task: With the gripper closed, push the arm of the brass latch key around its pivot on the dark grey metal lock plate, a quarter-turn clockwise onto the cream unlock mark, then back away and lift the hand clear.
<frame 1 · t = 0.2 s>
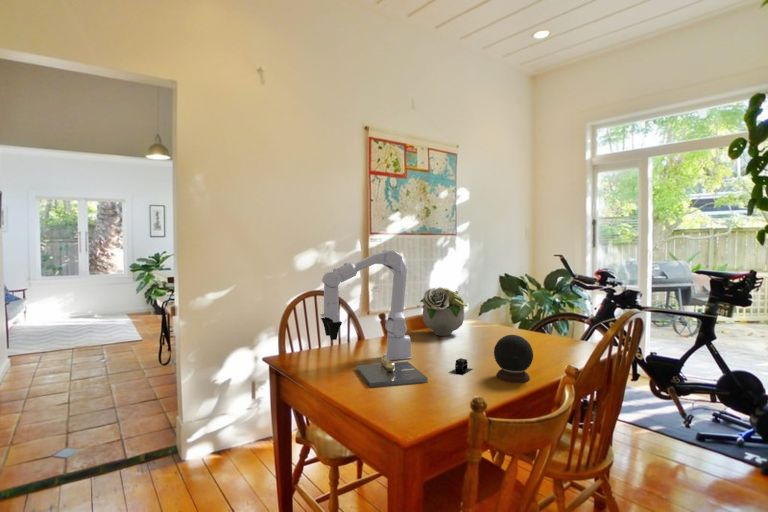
hand: (331, 337, 162), 10 cm above the table, tool pointing down, fingers open, 7 cm apart
black block on base: (461, 372, 154), on the table
latch key: (387, 363, 151), point 3 cm above the table, hinge at 0.0°
spherical smart speaker: (512, 378, 146), on the table
lock plate: (390, 375, 147), on the table
flower arrangement: (443, 334, 215), on the table
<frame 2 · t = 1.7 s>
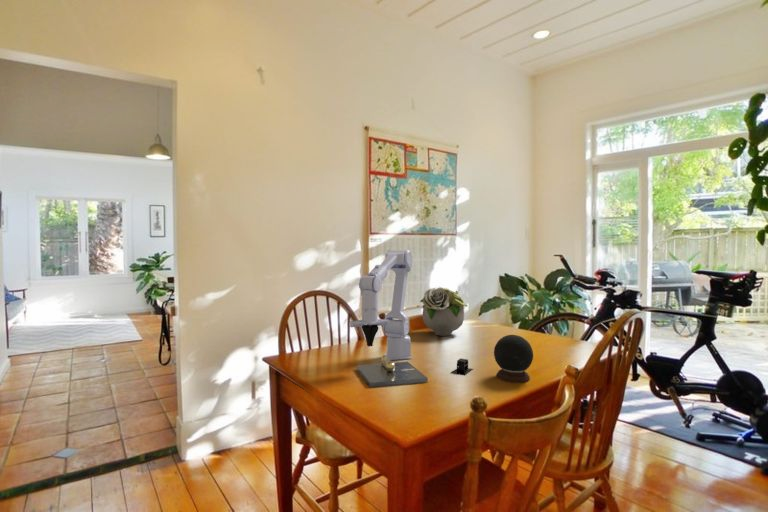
hand: (369, 345, 151), 9 cm above the table, tool pointing down, fingers closed
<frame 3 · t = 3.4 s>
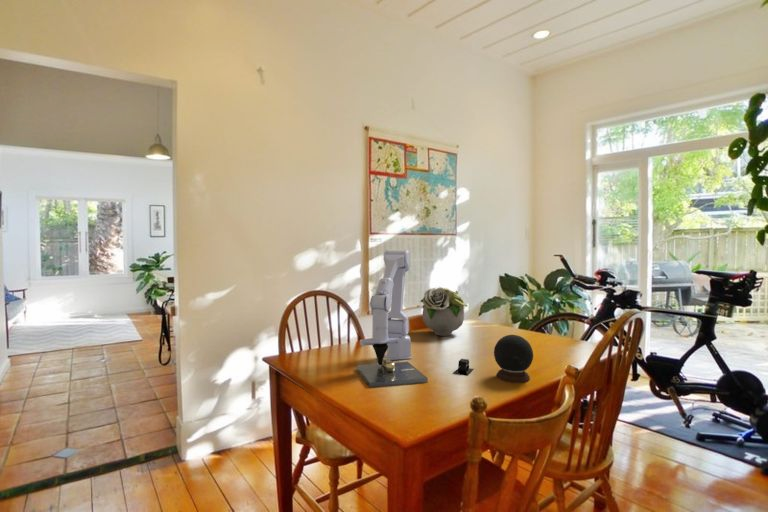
hand: (379, 364, 153), 2 cm above the table, tool pointing down, fingers closed
latch key: (387, 363, 151), point 3 cm above the table, hinge at -0.2°, touching gripper
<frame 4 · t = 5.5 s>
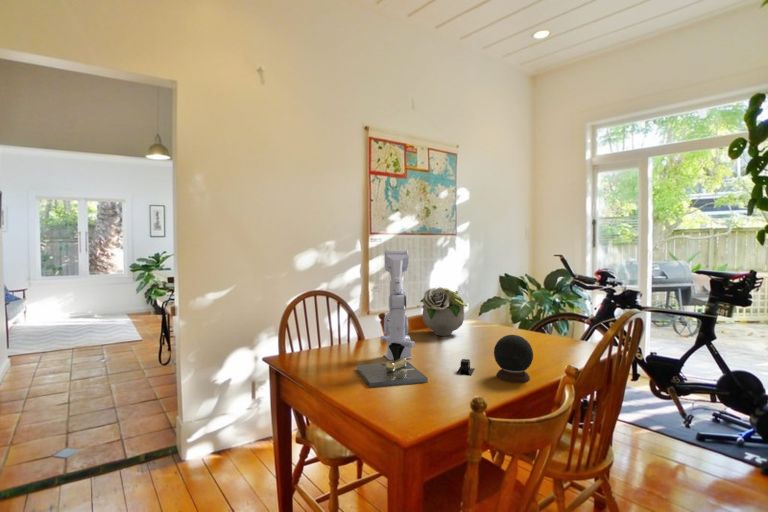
hand: (396, 363, 153), 2 cm above the table, tool pointing down, fingers closed, pressing on latch key
latch key: (396, 364, 150), point 3 cm above the table, hinge at -53.1°, touching gripper
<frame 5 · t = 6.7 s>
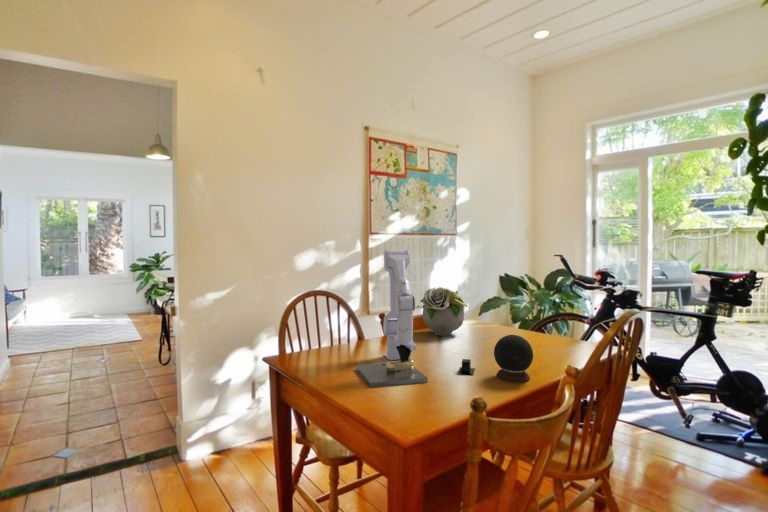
hand: (404, 365, 151), 2 cm above the table, tool pointing down, fingers closed, pressing on latch key
latch key: (400, 365, 149), point 3 cm above the table, hinge at -82.2°, touching gripper
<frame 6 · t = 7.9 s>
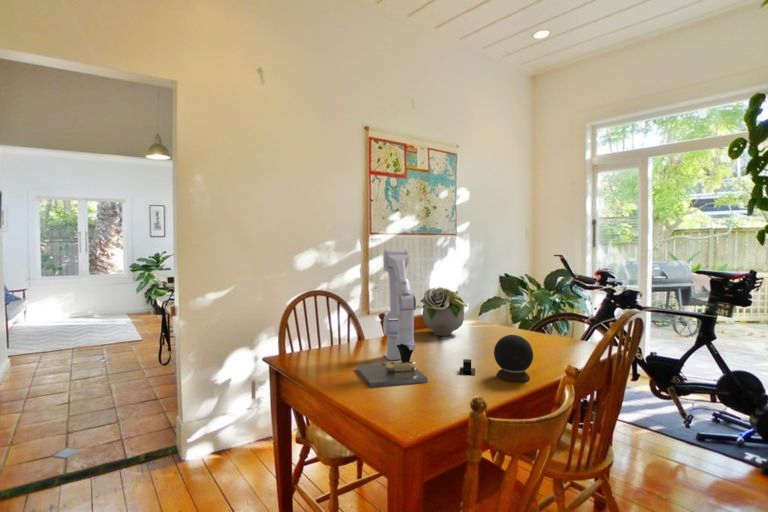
hand: (405, 364, 153), 2 cm above the table, tool pointing down, fingers closed
latch key: (401, 366, 148), point 3 cm above the table, hinge at -97.1°
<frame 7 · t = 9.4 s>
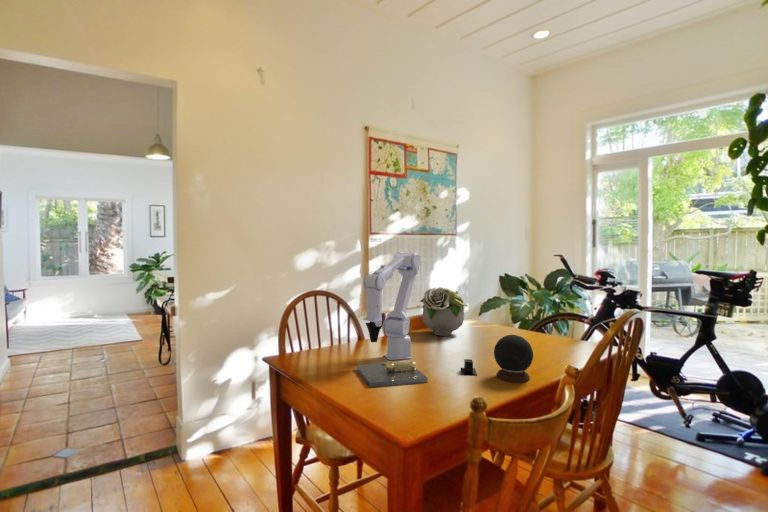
hand: (373, 341, 158), 9 cm above the table, tool pointing down, fingers closed
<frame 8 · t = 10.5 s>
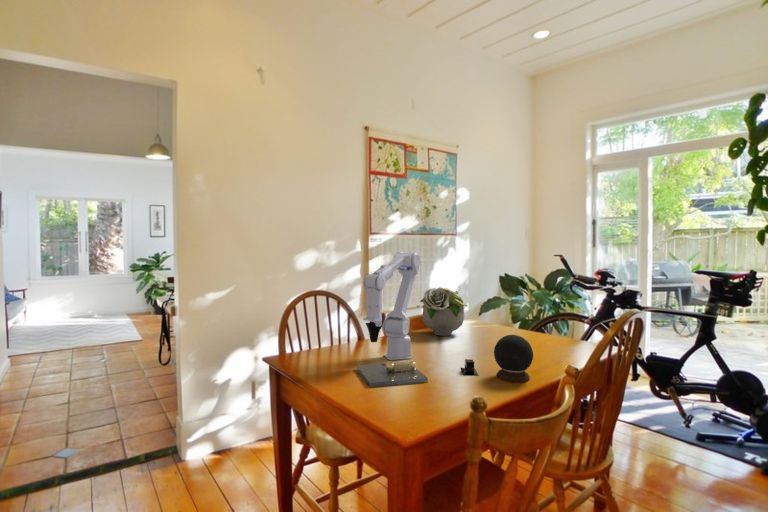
hand: (373, 341, 158), 9 cm above the table, tool pointing down, fingers closed
at the end: latch key at -97° (first picture: +0°); the gripper is holding nothing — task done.
